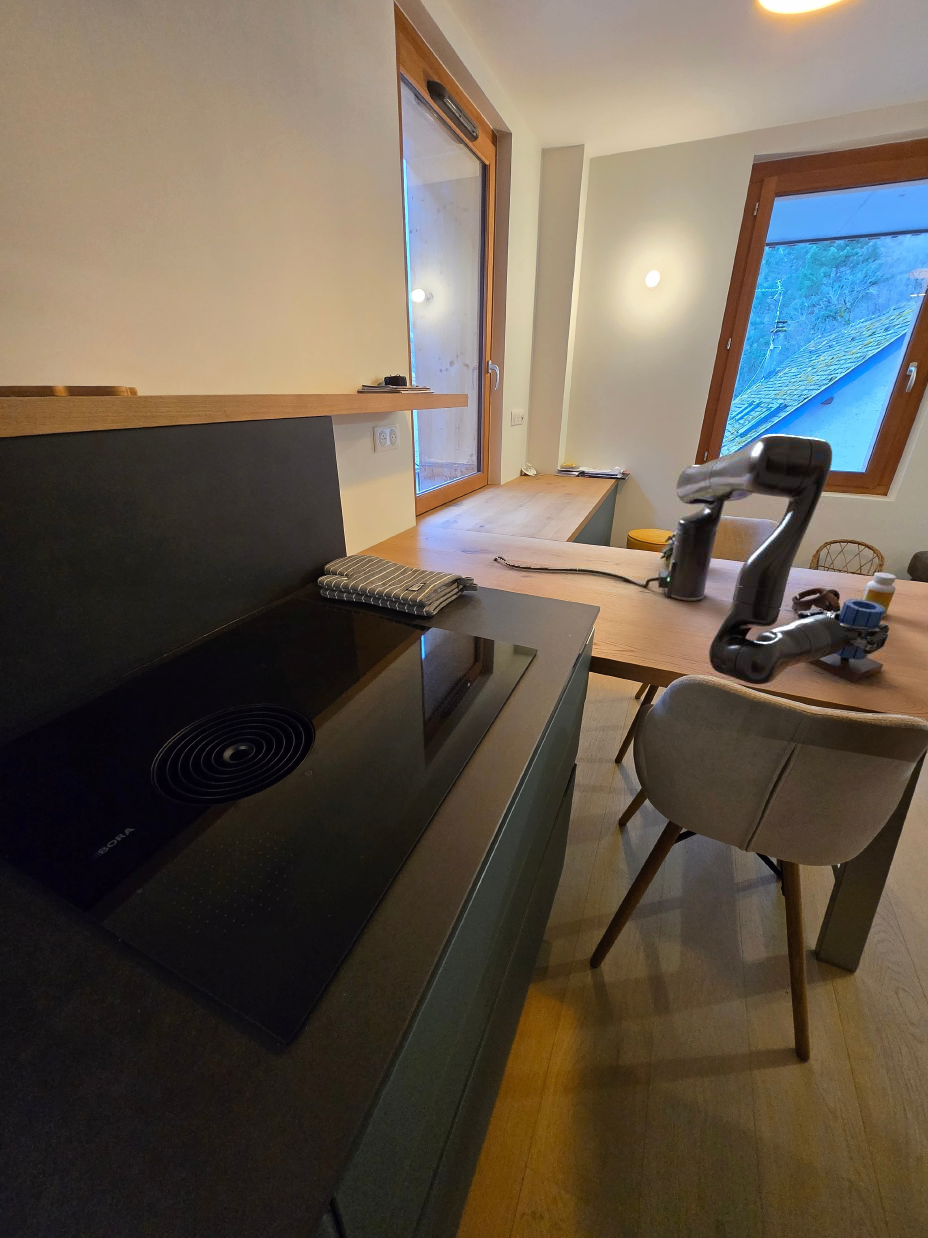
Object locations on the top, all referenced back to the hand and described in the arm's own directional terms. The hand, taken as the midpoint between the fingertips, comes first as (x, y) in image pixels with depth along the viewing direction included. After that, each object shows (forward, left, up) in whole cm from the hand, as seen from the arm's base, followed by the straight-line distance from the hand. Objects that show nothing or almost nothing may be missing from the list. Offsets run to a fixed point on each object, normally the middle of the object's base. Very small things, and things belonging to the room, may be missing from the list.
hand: (865, 622), depth 94 cm
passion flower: (-29, +54, -9) cm, 61 cm away
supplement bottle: (+13, +29, -9) cm, 33 cm away
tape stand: (-2, -1, -9) cm, 9 cm away
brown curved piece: (0, +22, -9) cm, 24 cm away
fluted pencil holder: (-2, -2, -6) cm, 6 cm away
